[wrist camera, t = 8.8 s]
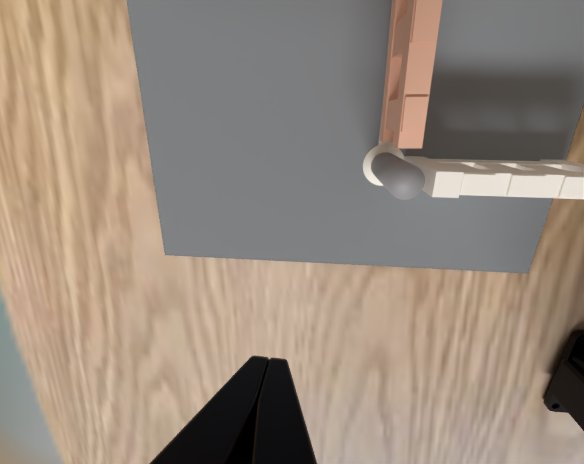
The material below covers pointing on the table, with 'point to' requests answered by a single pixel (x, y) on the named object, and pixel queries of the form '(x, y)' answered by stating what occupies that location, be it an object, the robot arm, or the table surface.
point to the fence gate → (407, 92)
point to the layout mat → (348, 127)
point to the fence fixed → (501, 178)
